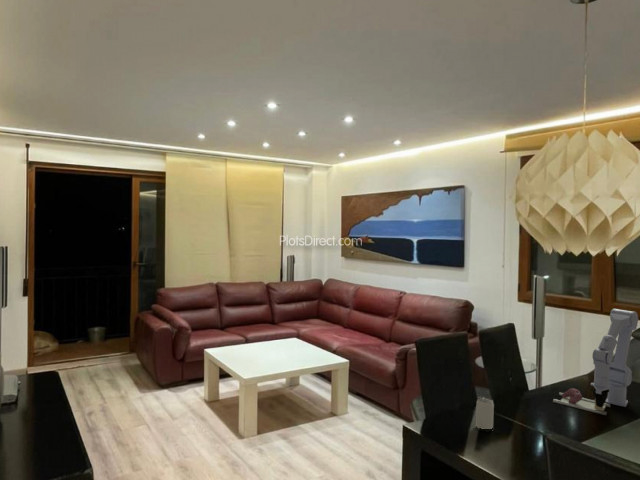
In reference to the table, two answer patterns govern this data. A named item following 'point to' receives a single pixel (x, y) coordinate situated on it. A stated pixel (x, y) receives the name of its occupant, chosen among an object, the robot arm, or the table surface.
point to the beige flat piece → (585, 404)
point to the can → (484, 413)
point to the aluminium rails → (582, 406)
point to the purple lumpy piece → (573, 395)
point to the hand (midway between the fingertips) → (600, 405)
